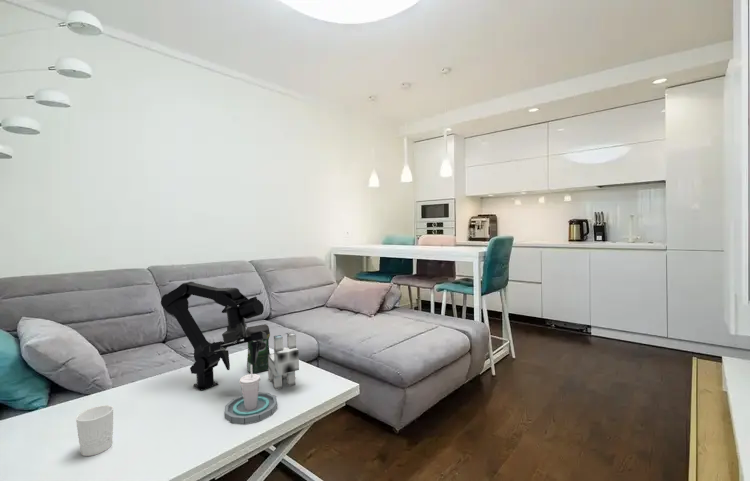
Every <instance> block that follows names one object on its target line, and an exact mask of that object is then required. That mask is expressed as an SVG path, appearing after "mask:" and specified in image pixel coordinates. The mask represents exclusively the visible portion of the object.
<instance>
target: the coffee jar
mask: <svg viewBox="0 0 750 481" xmlns="http://www.w3.org/2000/svg"><path fill="white" fill-rule="evenodd" d="M260 331H262V332H265V333H266V334H267V340H263V341H264V343H262V344H261V347H260V350H259V353H258V356H257V360H256V363H255V364H254V362H253V351H252V345H251V343H252V342H253V341H251V342H247V356H246V358H247V359H246V360H247V361H246V369H247V372H249V373H251V367H250V365H252V372H253V374H256V373H261V372H264V371H268V354H271V353H270V345H269V344H270V343H269V340H270V336H271V331H270V328H269V326H268V324H266V323H264V324H259V325H258V324H257V325H252V326H247V327H246V334H247V335H248V337H249V336H251V334H252V333H256V332H260Z"/></svg>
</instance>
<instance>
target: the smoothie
mask: <svg viewBox="0 0 750 481" xmlns="http://www.w3.org/2000/svg"><path fill="white" fill-rule="evenodd" d="M250 367H251V372H250V374H246V375H243V376H242V377H240V378H239V384H240V387H241V392H242V395H243V399H244V405H245V409H246V410H252V409H255V408H256V407H257V401H258V392H259V389H260V382H261V375H260V374H256V373H253V372H252V365H250Z"/></svg>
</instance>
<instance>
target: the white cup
mask: <svg viewBox="0 0 750 481" xmlns="http://www.w3.org/2000/svg"><path fill="white" fill-rule="evenodd" d="M75 421H76V428H77V429H76V430H77V438H78V443H79V449H80V454H81V455H82V456H83V457H92V456H96V455H98V454H101V453H104V452H105V451H108V449H110V447H111V446H112V445H113V435H114V434H113V433H114V432H113V431H114V406H112V405H97V406H94V407H91V408H89V409H86V410H84V411H82V412H79V413H78V414H77V415H76V417H75Z"/></svg>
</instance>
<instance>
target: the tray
mask: <svg viewBox="0 0 750 481" xmlns="http://www.w3.org/2000/svg"><path fill="white" fill-rule="evenodd" d="M277 410H278V400H277V396H276V395H274V394H272V393H270V392H261V391H258V401H257V407H256V408H255V409H252V410H246V409H245V405H244V399H243V394H241V395H238V396H237V397H235V398H233V399H231V400H230V401H228V403H226V404H225V405H224V411H223V412H224V414H223V415H224V420H226V421H228V423H230V424H234V425H248V424H255V423H259V422H261V421H263V420H265V419H268V418H269V417H271V416H272V415H274V413H275V412H276V411H277Z"/></svg>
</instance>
